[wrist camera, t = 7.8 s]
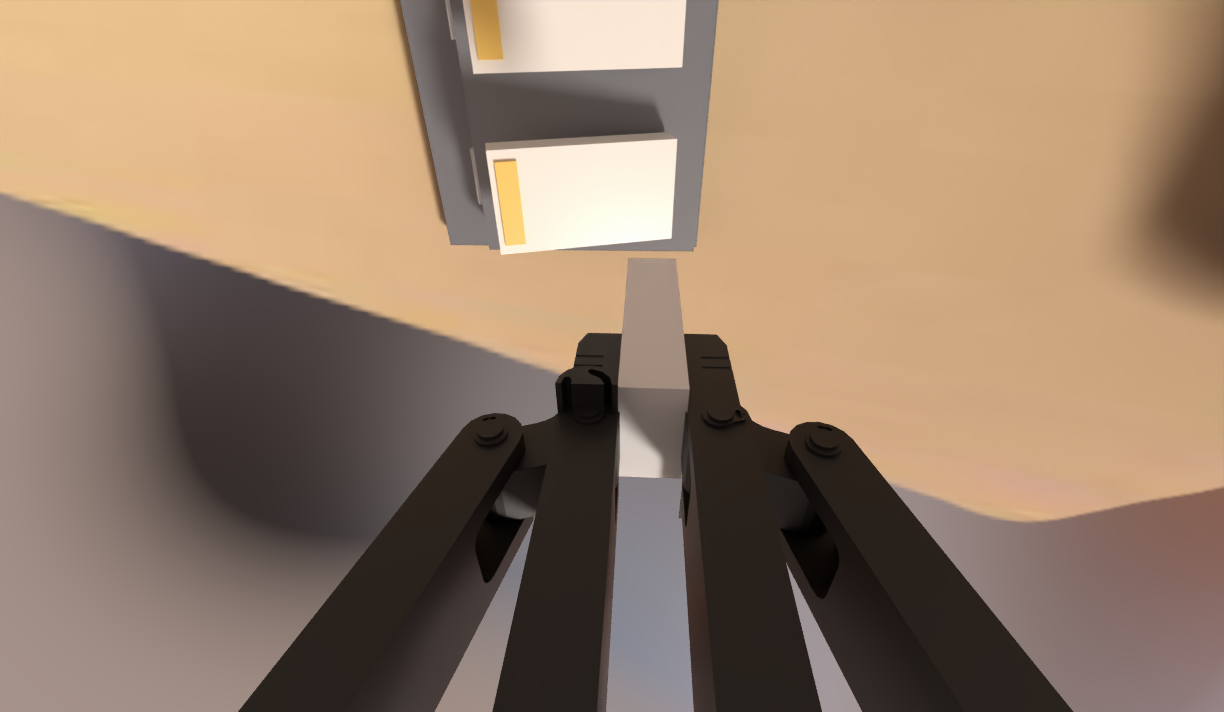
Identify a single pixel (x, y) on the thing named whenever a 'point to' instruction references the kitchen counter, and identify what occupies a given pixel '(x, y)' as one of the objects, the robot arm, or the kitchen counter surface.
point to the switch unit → (553, 115)
